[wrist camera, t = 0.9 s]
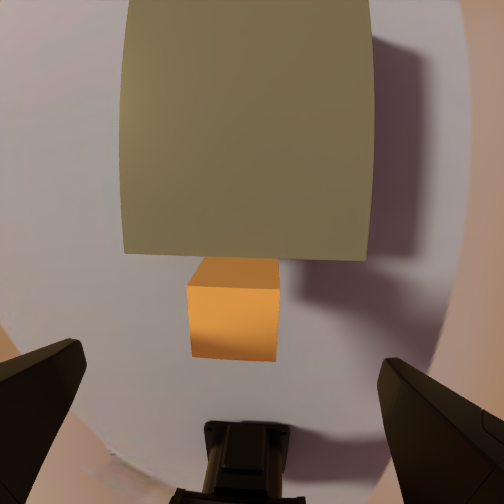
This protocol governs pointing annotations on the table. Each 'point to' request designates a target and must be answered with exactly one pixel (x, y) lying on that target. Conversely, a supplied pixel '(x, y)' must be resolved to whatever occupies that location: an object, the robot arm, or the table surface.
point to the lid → (245, 150)
